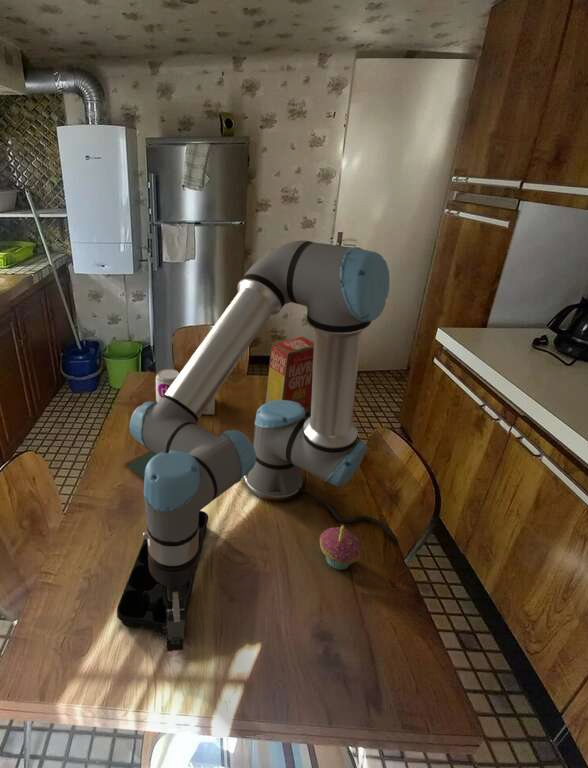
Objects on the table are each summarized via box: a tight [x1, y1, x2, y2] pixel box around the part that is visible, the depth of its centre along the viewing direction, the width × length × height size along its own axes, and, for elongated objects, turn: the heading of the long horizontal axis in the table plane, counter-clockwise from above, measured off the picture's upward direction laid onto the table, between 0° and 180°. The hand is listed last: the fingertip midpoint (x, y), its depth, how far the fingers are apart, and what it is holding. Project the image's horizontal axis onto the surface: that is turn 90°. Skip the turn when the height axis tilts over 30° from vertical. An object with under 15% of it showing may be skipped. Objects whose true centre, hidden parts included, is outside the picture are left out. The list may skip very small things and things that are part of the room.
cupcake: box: [319, 524, 363, 571], centre depth 91 cm, size 9×8×12 cm
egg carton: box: [116, 510, 209, 636], centre depth 90 cm, size 18×30×4 cm, turn 1°
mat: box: [126, 451, 157, 480], centre depth 118 cm, size 20×11×1 cm, turn 44°
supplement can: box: [155, 368, 180, 403], centre depth 143 cm, size 8×8×15 cm
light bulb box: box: [202, 395, 216, 415], centre depth 148 cm, size 11×7×11 cm, turn 179°
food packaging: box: [265, 336, 314, 414], centre depth 144 cm, size 13×9×25 cm
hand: (174, 646), depth 75 cm, fingers closed
